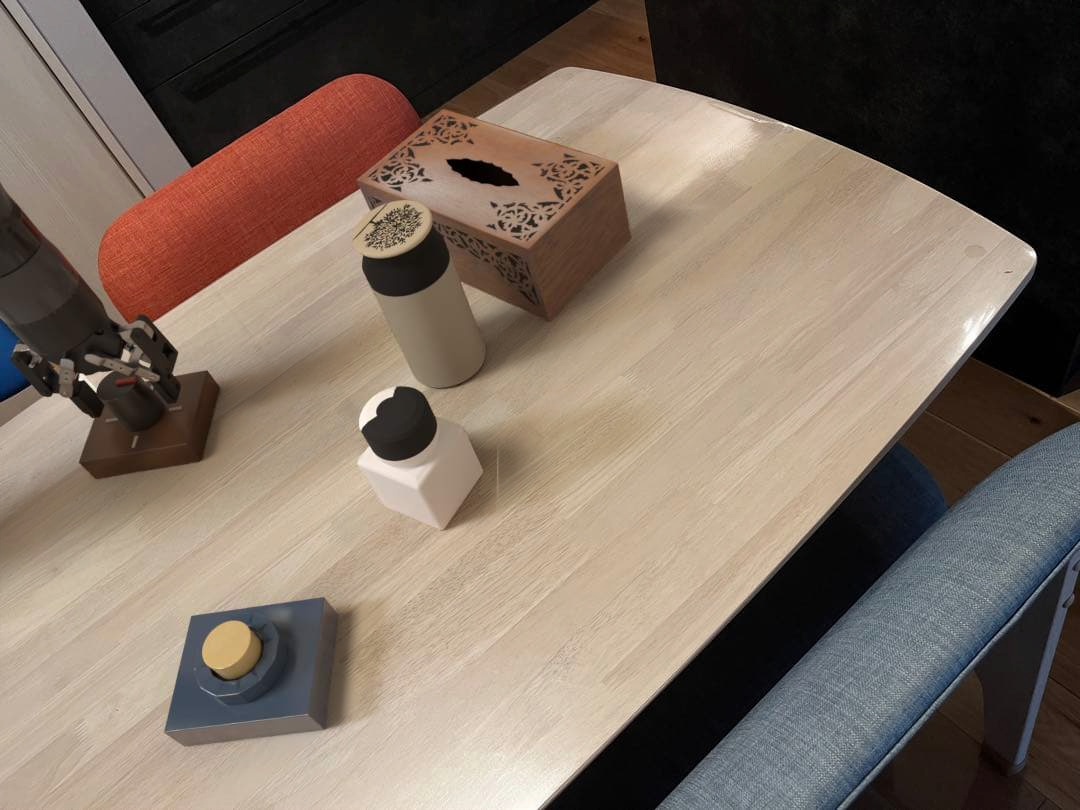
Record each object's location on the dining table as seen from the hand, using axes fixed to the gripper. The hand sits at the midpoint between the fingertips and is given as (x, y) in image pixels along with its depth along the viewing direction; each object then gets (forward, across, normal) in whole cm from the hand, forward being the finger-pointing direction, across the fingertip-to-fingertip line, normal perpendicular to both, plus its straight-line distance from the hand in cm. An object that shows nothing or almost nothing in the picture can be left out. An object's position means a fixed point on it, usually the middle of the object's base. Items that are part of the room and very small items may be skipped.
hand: (136, 404), depth 94 cm
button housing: (+5, -17, +30) cm, 34 cm away
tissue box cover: (+5, -38, -20) cm, 43 cm away
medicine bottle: (+5, -31, +13) cm, 34 cm away
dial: (+2, 0, 0) cm, 2 cm away
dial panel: (+5, 0, 0) cm, 5 cm away
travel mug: (+5, -32, -3) cm, 32 cm away
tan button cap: (0, -17, +30) cm, 34 cm away
